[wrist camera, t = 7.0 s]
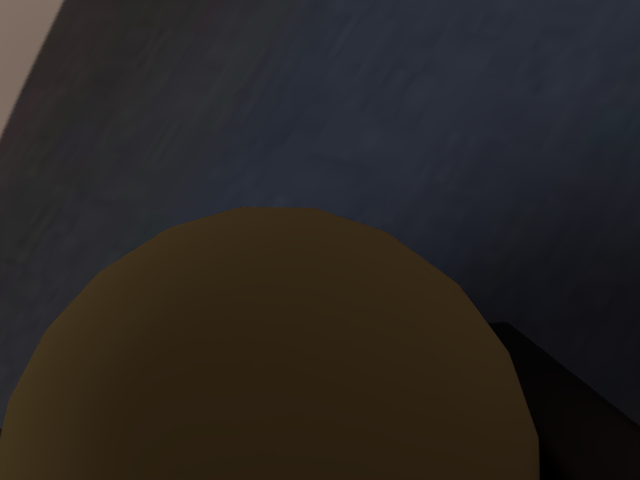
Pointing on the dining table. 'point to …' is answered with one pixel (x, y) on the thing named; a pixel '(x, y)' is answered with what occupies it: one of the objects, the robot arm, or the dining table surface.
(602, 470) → the robot arm
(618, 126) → the dining table surface
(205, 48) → the dining table surface
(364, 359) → the pepper shaker
